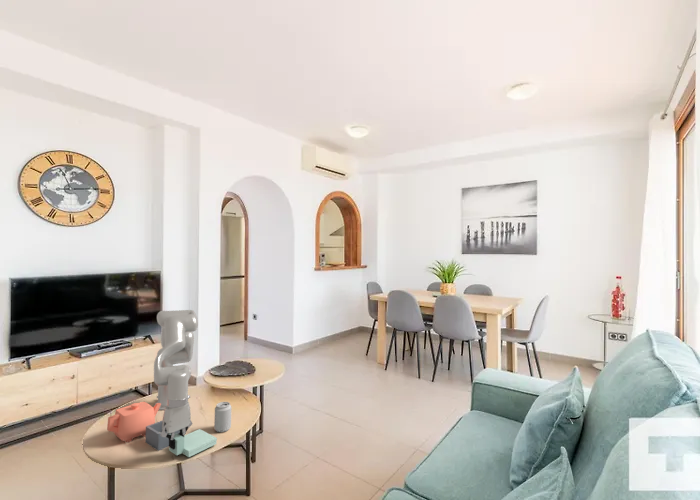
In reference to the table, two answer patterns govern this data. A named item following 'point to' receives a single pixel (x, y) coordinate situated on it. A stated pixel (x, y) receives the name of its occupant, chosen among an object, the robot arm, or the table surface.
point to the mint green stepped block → (192, 443)
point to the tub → (156, 436)
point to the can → (222, 417)
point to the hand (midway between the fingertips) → (176, 445)
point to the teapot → (132, 420)
